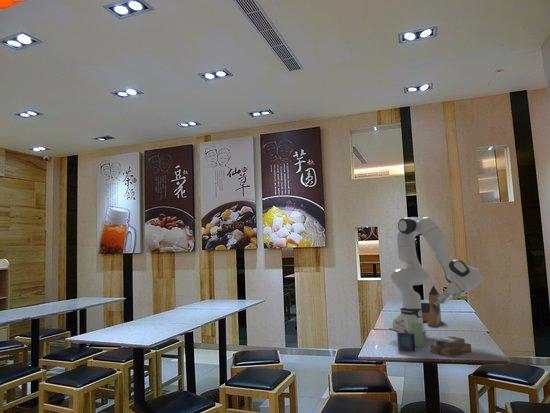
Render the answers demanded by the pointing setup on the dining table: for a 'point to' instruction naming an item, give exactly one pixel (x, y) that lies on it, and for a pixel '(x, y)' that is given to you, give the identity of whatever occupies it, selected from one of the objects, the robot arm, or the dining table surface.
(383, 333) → the dining table surface
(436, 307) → the toy building blocks
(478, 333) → the dining table surface
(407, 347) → the flask
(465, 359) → the dining table surface
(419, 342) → the sage column
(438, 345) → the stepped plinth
